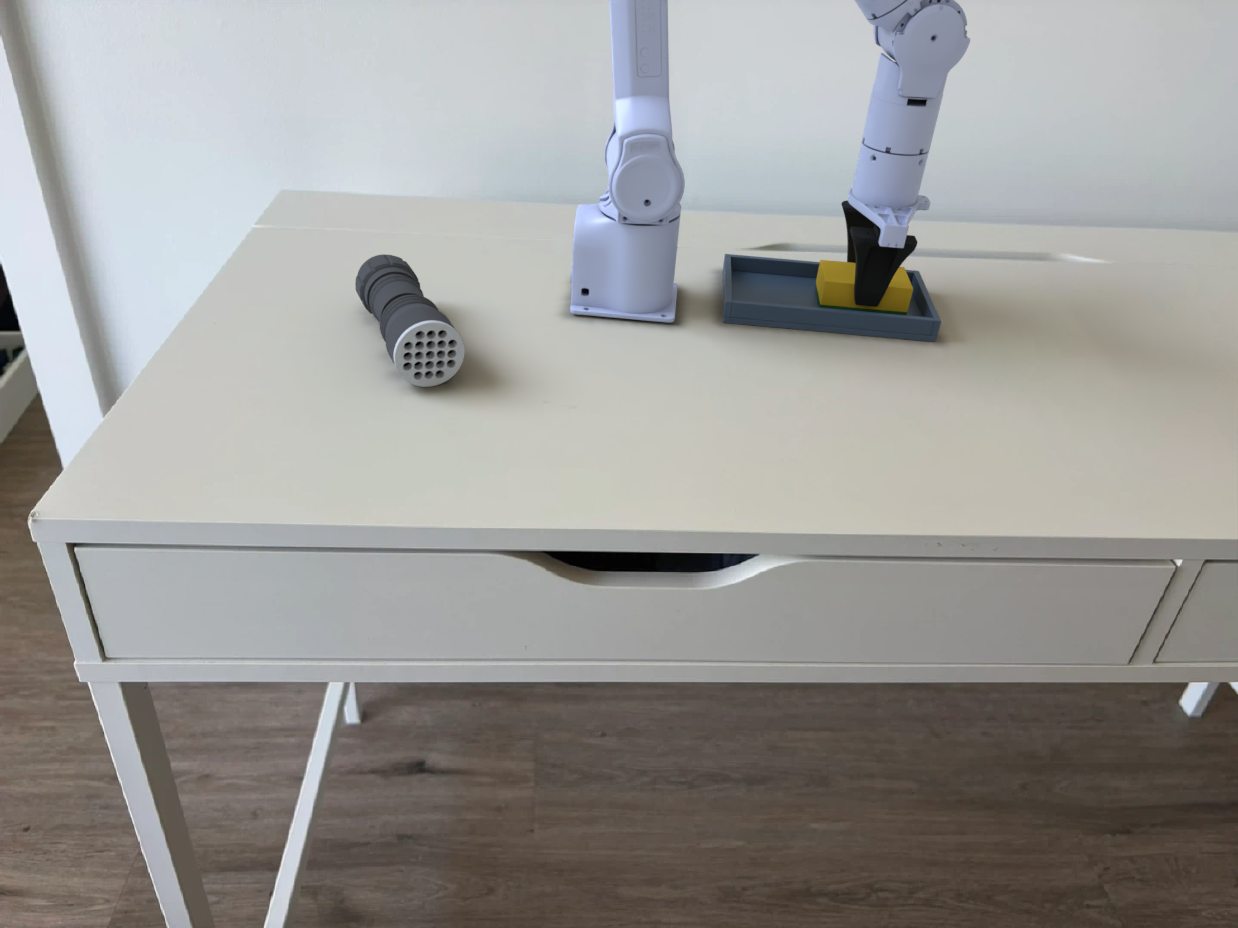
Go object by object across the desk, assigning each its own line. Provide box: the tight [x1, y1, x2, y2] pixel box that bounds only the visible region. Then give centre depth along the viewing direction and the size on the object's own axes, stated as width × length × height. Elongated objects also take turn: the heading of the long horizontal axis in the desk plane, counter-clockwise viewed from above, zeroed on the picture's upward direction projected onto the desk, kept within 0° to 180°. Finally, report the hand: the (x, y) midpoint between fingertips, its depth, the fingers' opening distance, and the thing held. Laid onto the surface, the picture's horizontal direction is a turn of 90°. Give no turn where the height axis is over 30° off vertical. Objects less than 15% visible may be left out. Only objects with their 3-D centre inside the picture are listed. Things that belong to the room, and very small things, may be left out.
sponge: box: [815, 259, 913, 315], centre depth 87 cm, size 8×5×3 cm, turn 85°
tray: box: [721, 253, 942, 343], centre depth 88 cm, size 19×11×2 cm, turn 85°
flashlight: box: [355, 253, 465, 388], centre depth 76 cm, size 15×5×5 cm, turn 25°
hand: (862, 291), depth 87 cm, fingers closed on sponge, 5 cm apart
